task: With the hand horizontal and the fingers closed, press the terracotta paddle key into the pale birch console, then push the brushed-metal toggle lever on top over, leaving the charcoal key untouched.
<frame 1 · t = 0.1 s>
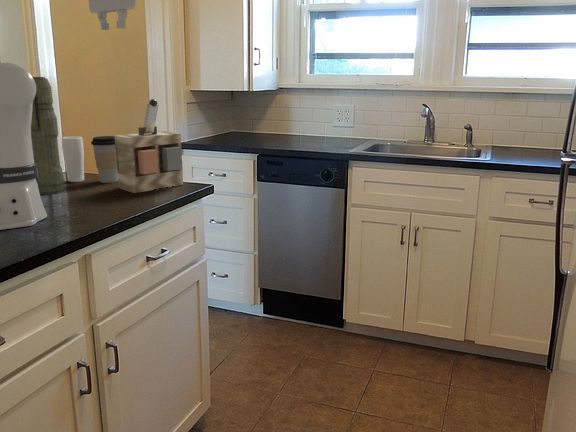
hand: (113, 29, 154), 48 cm above the countertop, tool pointing down, fingers open, 8 cm apart
key terracotta: (144, 160, 176), point 10 cm above the countertop, slide at 0.0 cm
coffee cup: (108, 181, 194), on the countertop
key charcoal: (168, 157, 182), point 10 cm above the countertop, slide at 0.0 cm
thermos: (49, 191, 178), on the countertop
toggle lever: (150, 116, 177), point 23 cm above the countertop, hinge at -25.0°
console: (151, 186, 185), on the countertop
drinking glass: (76, 181, 194), on the countertop
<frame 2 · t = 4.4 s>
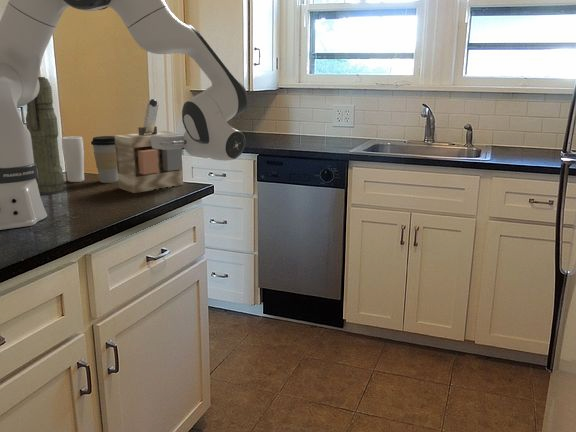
hand: (171, 137, 163), 18 cm above the countertop, tool horizontal, fingers closed
nothing on the countertop moved.
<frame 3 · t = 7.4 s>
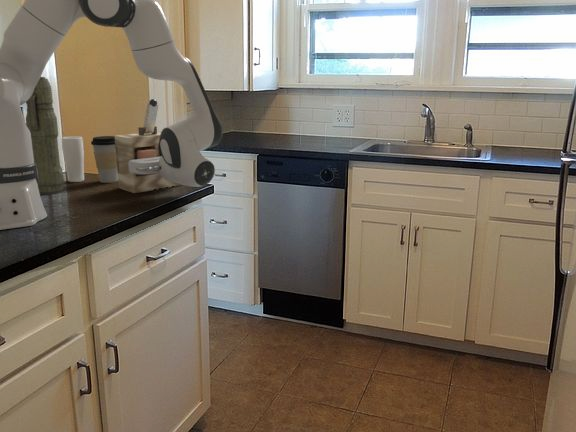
hand: (149, 160, 174), 10 cm above the countertop, tool horizontal, fingers closed, pressing on key terracotta
key terracotta: (144, 160, 177), point 10 cm above the countertop, slide at 0.5 cm, touching gripper
everything else where it was.
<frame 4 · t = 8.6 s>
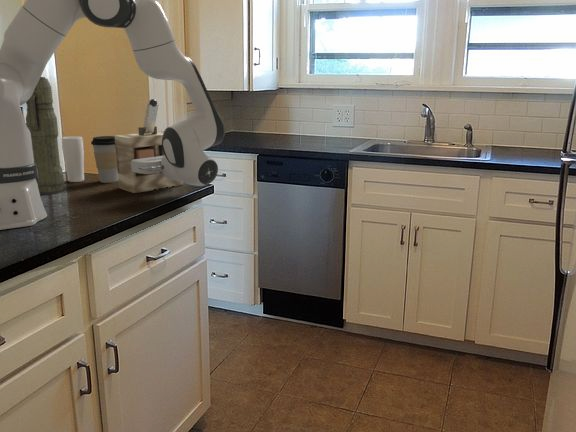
hand: (151, 159, 174), 10 cm above the countertop, tool horizontal, fingers closed
key terracotta: (141, 160, 178), point 10 cm above the countertop, slide at 2.0 cm
everything else where it was.
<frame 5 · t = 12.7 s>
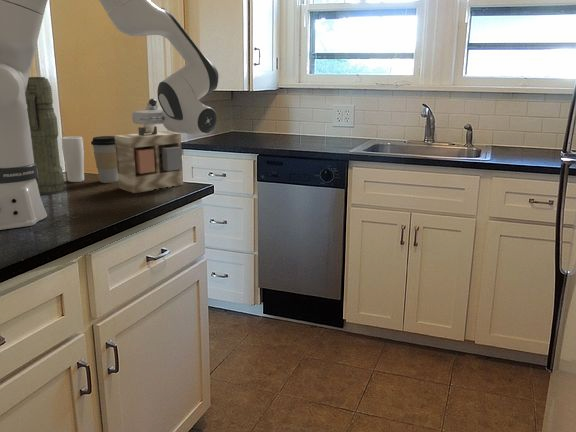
hand: (153, 114, 176), 24 cm above the countertop, tool horizontal, fingers closed, pressing on toggle lever
toggle lever: (150, 115, 177), point 23 cm above the countertop, hinge at -23.3°, touching gripper
everything else where it was.
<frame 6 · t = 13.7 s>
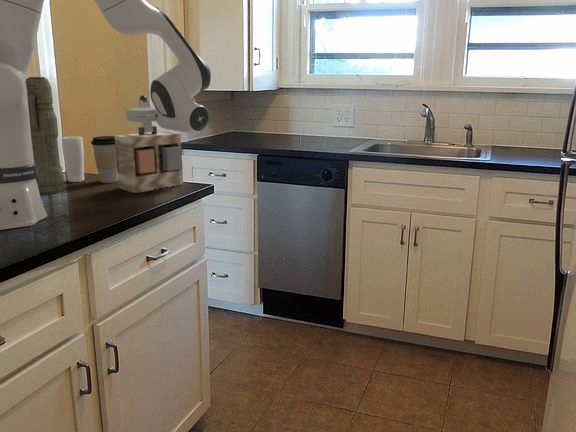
hand: (147, 111, 179), 24 cm above the countertop, tool horizontal, fingers closed, pressing on toggle lever
toggle lever: (145, 113, 179), point 23 cm above the countertop, hinge at 8.3°, touching gripper
everything else where it was.
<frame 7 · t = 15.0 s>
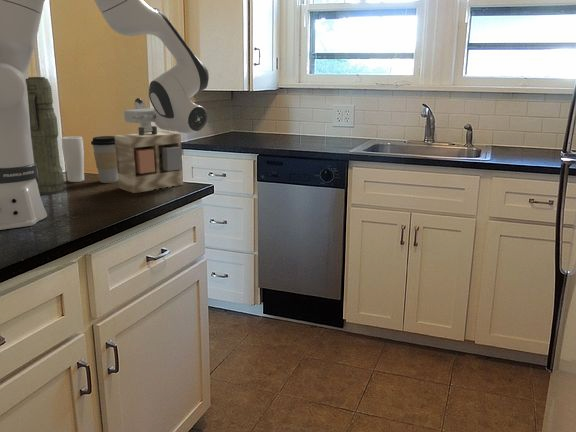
hand: (145, 112, 180), 24 cm above the countertop, tool horizontal, fingers closed
toggle lever: (142, 115, 181), point 23 cm above the countertop, hinge at 25.5°
everything else where it was.
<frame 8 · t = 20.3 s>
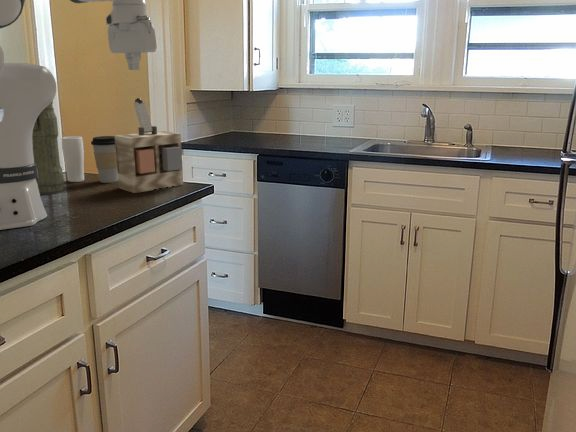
hand: (134, 70, 156), 37 cm above the countertop, tool pointing down, fingers closed
nothing on the countertop moved.
at the end: key terracotta slide at 2.0 cm; toggle lever at +26° (first picture: -25°); key charcoal slide at 0.0 cm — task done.
